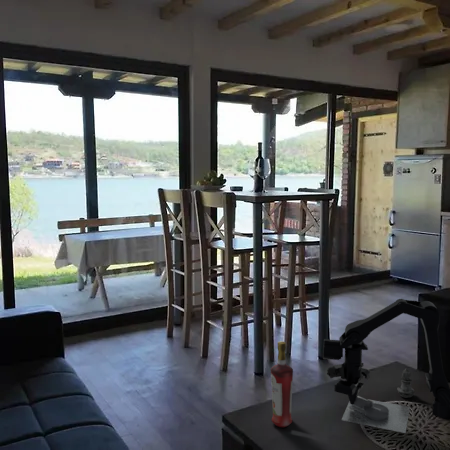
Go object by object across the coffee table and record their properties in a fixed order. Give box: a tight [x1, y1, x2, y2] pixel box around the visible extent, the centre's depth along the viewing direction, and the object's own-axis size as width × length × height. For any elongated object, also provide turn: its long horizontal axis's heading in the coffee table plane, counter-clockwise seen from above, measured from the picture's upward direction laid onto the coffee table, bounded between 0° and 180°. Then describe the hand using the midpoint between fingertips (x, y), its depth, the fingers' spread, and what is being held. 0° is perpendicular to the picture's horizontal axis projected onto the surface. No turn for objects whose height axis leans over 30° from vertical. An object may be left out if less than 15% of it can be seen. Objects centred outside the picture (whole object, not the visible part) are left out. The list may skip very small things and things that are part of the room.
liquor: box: [270, 340, 294, 428], centre depth 158 cm, size 7×7×28 cm
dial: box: [353, 395, 389, 421], centre depth 164 cm, size 14×8×4 cm, turn 40°
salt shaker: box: [397, 367, 415, 399], centre depth 174 cm, size 6×6×12 cm
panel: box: [341, 399, 411, 434], centre depth 163 cm, size 20×18×1 cm
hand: (351, 404), depth 166 cm, fingers closed
